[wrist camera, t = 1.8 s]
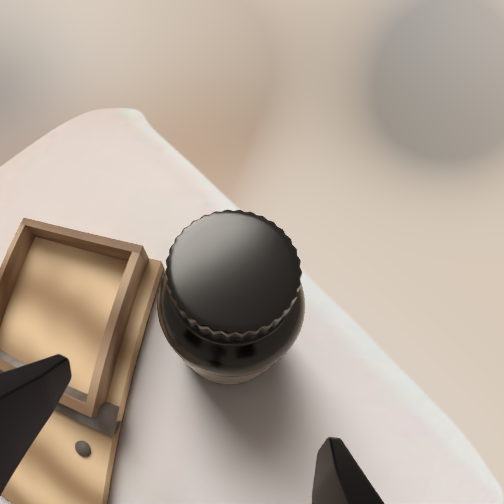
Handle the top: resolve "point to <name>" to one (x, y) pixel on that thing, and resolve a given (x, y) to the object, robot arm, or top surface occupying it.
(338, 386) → the top surface
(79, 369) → the hinge jig
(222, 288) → the supplement bottle
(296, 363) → the top surface
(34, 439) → the robot arm
